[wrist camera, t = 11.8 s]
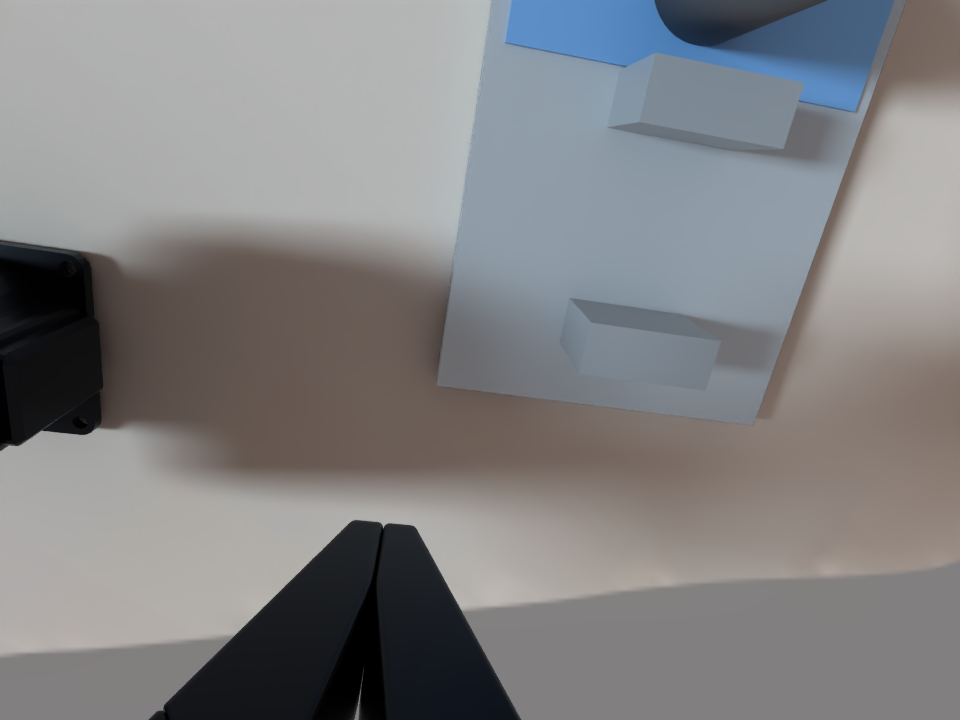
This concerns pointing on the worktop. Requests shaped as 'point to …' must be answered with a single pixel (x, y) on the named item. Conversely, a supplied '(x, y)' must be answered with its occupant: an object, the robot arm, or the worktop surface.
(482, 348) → the lever switch plate
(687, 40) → the knob
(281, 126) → the worktop surface
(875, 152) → the worktop surface
